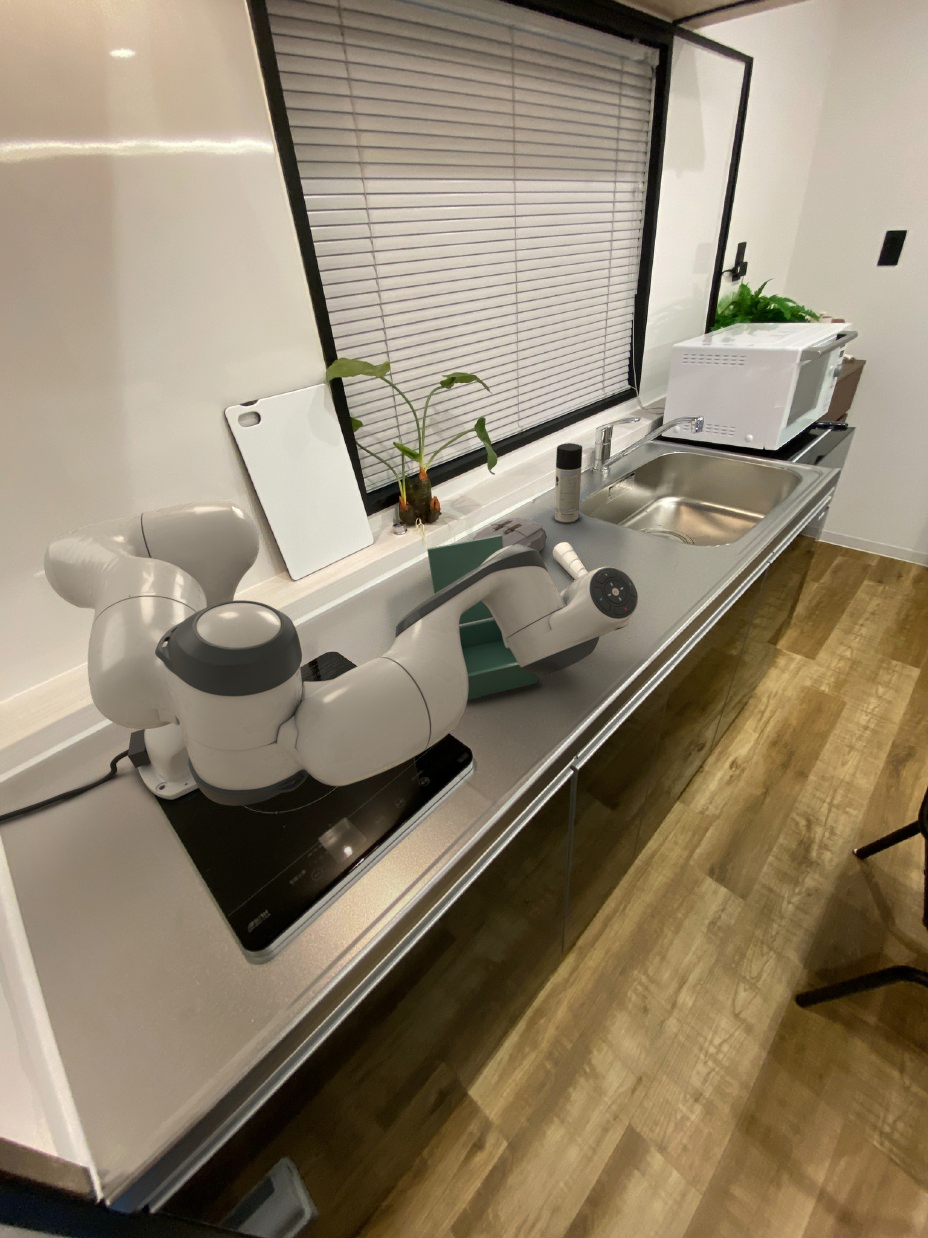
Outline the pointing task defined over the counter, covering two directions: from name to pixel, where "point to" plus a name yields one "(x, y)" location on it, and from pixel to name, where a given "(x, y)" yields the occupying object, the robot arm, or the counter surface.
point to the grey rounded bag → (517, 533)
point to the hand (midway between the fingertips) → (549, 632)
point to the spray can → (568, 482)
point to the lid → (462, 568)
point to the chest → (490, 660)
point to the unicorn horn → (569, 560)
